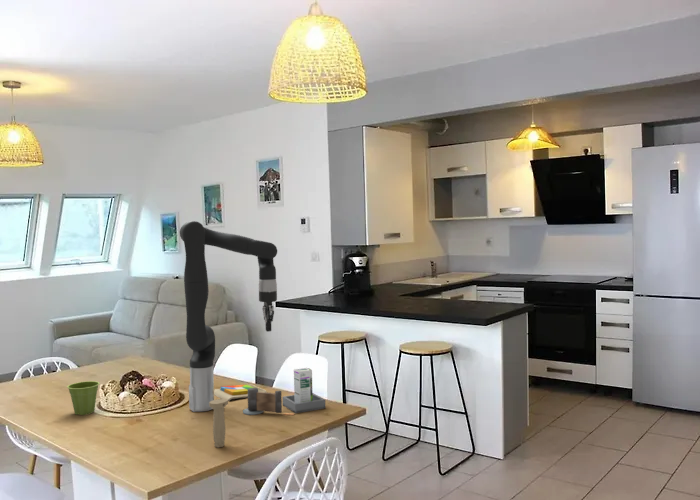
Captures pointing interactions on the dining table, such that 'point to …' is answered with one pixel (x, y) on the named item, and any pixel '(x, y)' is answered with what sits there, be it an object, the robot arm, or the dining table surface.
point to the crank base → (259, 412)
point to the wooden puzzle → (235, 391)
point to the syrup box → (303, 385)
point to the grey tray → (303, 404)
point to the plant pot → (83, 396)
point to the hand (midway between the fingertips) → (268, 331)
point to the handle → (218, 421)
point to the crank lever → (264, 401)
